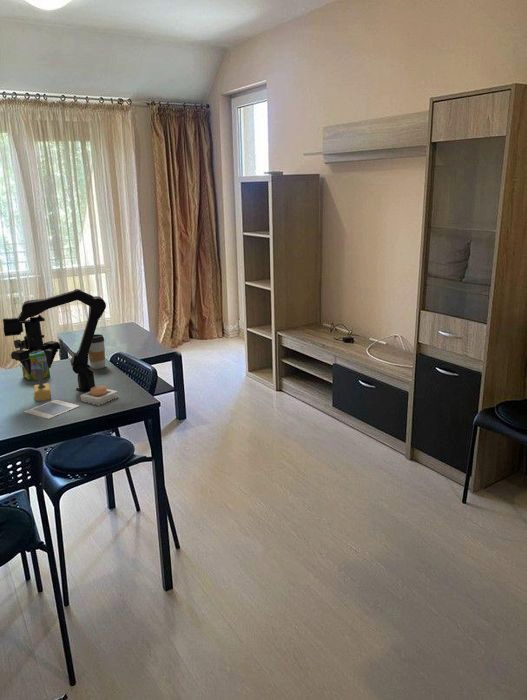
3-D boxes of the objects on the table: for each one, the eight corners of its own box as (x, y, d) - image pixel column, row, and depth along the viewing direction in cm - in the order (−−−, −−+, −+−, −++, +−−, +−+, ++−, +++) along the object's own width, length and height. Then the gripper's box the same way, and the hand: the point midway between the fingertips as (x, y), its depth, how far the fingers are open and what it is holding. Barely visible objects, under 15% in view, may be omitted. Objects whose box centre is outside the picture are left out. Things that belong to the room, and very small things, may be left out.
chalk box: (22, 377, 242) (18, 345, 238) (43, 372, 248) (38, 341, 244) (30, 381, 235) (25, 349, 231) (51, 376, 241) (46, 344, 237)
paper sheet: (79, 406, 205) (79, 405, 204) (48, 419, 193) (48, 418, 193) (55, 400, 212) (55, 399, 212) (24, 412, 200) (24, 411, 200)
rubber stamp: (35, 393, 220) (30, 365, 217) (50, 391, 223) (46, 363, 219) (35, 401, 212) (31, 372, 208) (51, 398, 214) (47, 370, 210)
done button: (110, 392, 212) (109, 387, 211) (98, 397, 207) (97, 391, 206) (99, 390, 215) (99, 384, 214) (87, 395, 210) (87, 389, 209)
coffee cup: (85, 367, 253) (82, 336, 249) (102, 363, 259) (98, 333, 255) (94, 370, 247) (90, 339, 243) (110, 366, 253) (107, 335, 249)
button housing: (118, 397, 213) (117, 391, 212) (98, 405, 205) (98, 399, 204) (100, 393, 218) (99, 387, 217) (81, 401, 210) (80, 395, 209)
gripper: (40, 326, 222) (46, 362, 226) (-1, 336, 206) (5, 375, 211) (58, 328, 216) (64, 365, 220) (17, 339, 201) (23, 379, 205)
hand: (39, 371), depth 214 cm, fingers open, 9 cm apart
